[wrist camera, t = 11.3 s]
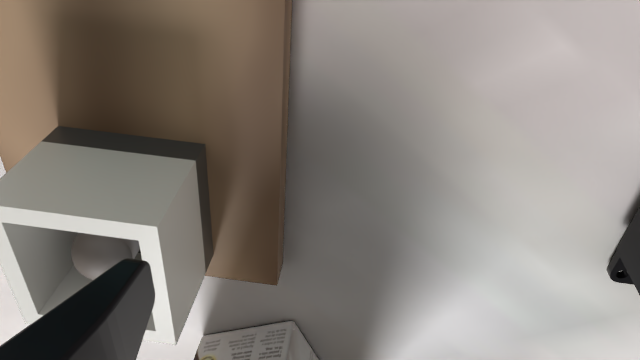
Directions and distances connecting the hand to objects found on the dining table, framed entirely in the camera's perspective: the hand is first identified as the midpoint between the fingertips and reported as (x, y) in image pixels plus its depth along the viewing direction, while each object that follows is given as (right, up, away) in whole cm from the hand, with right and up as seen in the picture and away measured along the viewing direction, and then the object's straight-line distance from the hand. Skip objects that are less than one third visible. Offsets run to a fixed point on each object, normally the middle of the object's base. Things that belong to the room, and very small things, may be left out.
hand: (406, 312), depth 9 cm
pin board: (-9, +8, +11) cm, 16 cm away
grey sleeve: (-9, +2, +13) cm, 16 cm away
